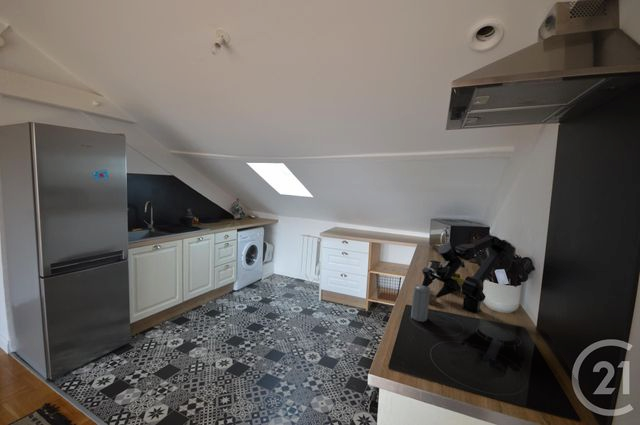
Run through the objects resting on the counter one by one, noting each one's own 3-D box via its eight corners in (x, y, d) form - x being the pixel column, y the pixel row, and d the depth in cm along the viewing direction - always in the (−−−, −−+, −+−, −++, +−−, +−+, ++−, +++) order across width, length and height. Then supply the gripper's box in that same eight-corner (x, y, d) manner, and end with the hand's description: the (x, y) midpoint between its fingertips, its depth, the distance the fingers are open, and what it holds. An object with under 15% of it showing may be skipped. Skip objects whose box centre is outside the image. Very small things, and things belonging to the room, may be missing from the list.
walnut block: (436, 301, 144) (437, 292, 143) (434, 304, 140) (435, 295, 139) (426, 298, 146) (427, 289, 146) (424, 302, 142) (425, 292, 142)
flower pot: (461, 294, 155) (463, 278, 154) (444, 291, 158) (446, 276, 157) (459, 288, 163) (460, 274, 162) (442, 286, 166) (444, 271, 165)
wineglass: (433, 298, 147) (437, 265, 145) (420, 292, 154) (424, 260, 152) (443, 295, 152) (446, 263, 150) (429, 290, 159) (433, 259, 156)
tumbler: (429, 319, 124) (432, 288, 122) (421, 322, 120) (424, 291, 118) (416, 313, 129) (419, 283, 127) (408, 316, 125) (411, 286, 123)
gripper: (427, 250, 133) (406, 274, 131) (459, 262, 116) (436, 290, 113) (438, 265, 137) (417, 289, 134) (470, 279, 120) (448, 306, 117)
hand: (428, 293), depth 125 cm, fingers open, 9 cm apart
